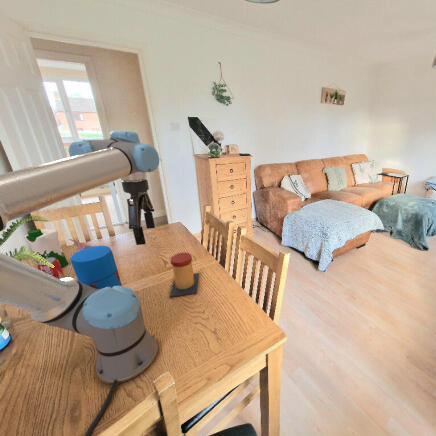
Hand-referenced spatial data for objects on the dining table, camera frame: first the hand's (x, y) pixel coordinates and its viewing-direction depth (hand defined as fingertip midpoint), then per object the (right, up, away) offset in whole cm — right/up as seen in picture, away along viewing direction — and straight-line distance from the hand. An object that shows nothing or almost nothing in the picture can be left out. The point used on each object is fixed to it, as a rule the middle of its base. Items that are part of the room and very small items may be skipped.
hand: (146, 235), depth 89 cm
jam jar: (+8, -22, +16) cm, 28 cm away
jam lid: (+8, -10, +11) cm, 17 cm away
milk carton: (-57, -17, +23) cm, 64 cm away
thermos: (-14, -28, 0) cm, 32 cm away
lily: (-52, -12, +34) cm, 64 cm away
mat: (+8, -23, +16) cm, 29 cm away
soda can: (-46, -22, +12) cm, 52 cm away
